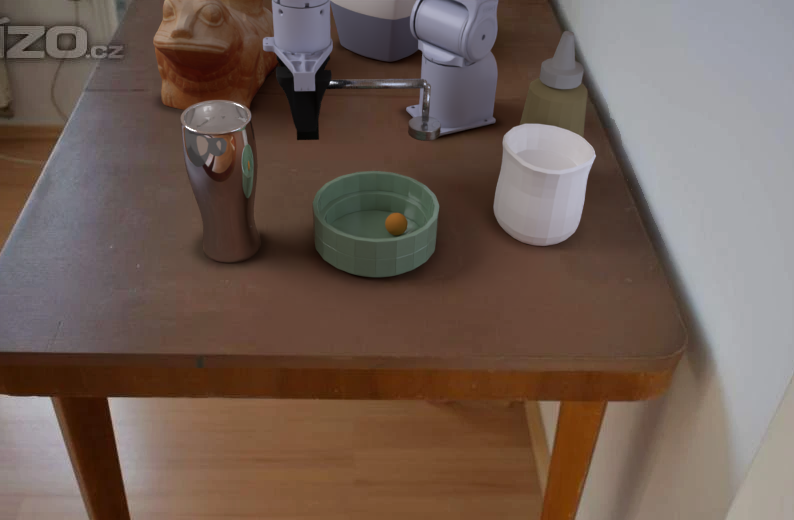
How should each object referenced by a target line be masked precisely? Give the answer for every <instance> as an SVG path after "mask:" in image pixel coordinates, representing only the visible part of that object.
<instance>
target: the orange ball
mask: <svg viewBox="0 0 794 520" xmlns="http://www.w3.org/2000/svg"><path fill="white" fill-rule="evenodd" d="M407 225H408V223H407V219H406V218H405V216H404V215H402V214H400V213H392V214H390V215H389V216H388V217H387V219H386V221H385V227H386V229H387V231H388V232H389V233H390V234H392V235H401V234H402V233H404V232H405V231H406V229H407Z"/></svg>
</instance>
